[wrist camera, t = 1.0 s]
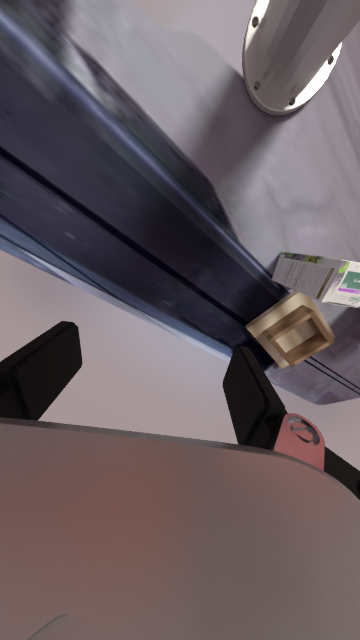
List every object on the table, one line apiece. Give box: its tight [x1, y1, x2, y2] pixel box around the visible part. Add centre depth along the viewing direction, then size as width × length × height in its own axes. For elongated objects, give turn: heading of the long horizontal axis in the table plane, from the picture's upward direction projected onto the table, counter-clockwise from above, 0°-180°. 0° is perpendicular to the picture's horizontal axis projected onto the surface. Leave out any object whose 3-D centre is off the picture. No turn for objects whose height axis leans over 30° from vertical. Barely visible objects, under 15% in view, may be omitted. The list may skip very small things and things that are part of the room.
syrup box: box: [271, 252, 360, 308], centre depth 28 cm, size 6×6×14 cm
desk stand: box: [245, 290, 336, 369], centre depth 38 cm, size 14×16×5 cm
